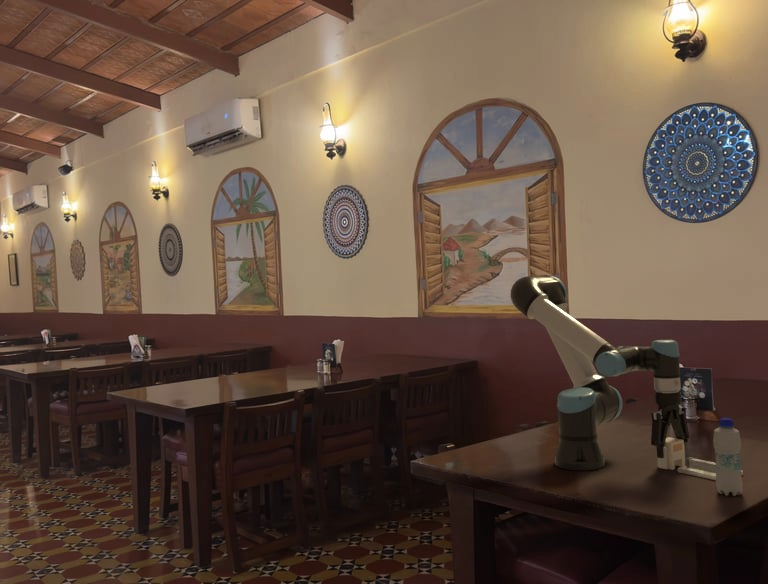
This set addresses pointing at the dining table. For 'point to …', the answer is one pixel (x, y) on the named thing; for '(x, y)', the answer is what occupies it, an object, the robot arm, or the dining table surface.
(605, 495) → the dining table surface
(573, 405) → the robot arm
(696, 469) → the rail board
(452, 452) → the dining table surface
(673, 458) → the block
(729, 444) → the bottle
